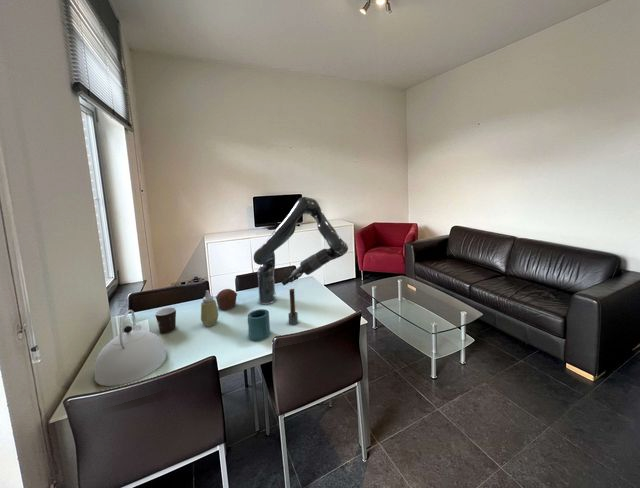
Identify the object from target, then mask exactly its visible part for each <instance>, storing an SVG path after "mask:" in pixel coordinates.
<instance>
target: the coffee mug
mask: <svg viewBox="0 0 640 488" xmlns="http://www.w3.org/2000/svg"><path fill="white" fill-rule="evenodd" d="M154 315H155V318H156V323H157V326H158V329H159V333H160V334H163V335H165V334H169V333H172V332H174V331H175V330H176V322H177V321H176V320H177V319H176V318H177V308H176V307H172V306H169V307H168V306H167V307H164V308H160V309H159V310H156V311H155V312H154Z"/></svg>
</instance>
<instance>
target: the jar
mask: <svg viewBox="0 0 640 488" xmlns="http://www.w3.org/2000/svg"><path fill="white" fill-rule="evenodd" d="M247 326H248V327H247V329H248V339H249V340H250V341H252V342H259V341H264V340H266V339H268V338H269V337H270V336H271V323H270V312H269V310H268V309H263V308H260V309H254V310H251V311H250V312H248V314H247Z"/></svg>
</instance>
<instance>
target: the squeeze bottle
mask: <svg viewBox="0 0 640 488" xmlns="http://www.w3.org/2000/svg"><path fill="white" fill-rule="evenodd" d="M218 318H219V309H218V305H217V300H215V299H214V296H213V295H211V293H210V290H208V289H207V290H205V295H204V296H203V298H202V302H201V304H200V320H201V323H202V325H203V326H204V327H211V326H215V325H217V322H218Z"/></svg>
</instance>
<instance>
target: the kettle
mask: <svg viewBox="0 0 640 488" xmlns="http://www.w3.org/2000/svg"><path fill="white" fill-rule="evenodd" d="M129 313H131V317H132V326H131V325H126V326H125V327H124V323H125V319H126V317H127V316H128V315H129ZM123 327H124V328H123ZM166 359H167V353H166V347H165V344H164V342H163V340H162V338H160V337H159V336H158V335H157V334H155V333H154V332H151V331H150V330H143V329H142V326H141V325H137V322H136V314H135V311H134V310H133V309H129V310H127V311H126V312H125V314H124V315H123V316H122V318H121V321H120V324H119V334H118V335H116V336H115V337H114V338H112V339H111V340H109V341H108V342H107V343H106V345H104V347H103V348H102V349H101V350H100V351H99V354H98V355H97V357H96V359H95V363H94V380H95V383H96V384H97V385H100V386H105V387H113V386H114V387H115V386H120V385H124V384H128V383H131V382H134V381H137V380H139V379H141V378H144V377H145V376H148V375H149V374H151V373H153V372H154V371H156V370H157V369H158V368H160V367H161V366H162V365H163V364H164V362H165V361H166Z"/></svg>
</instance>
